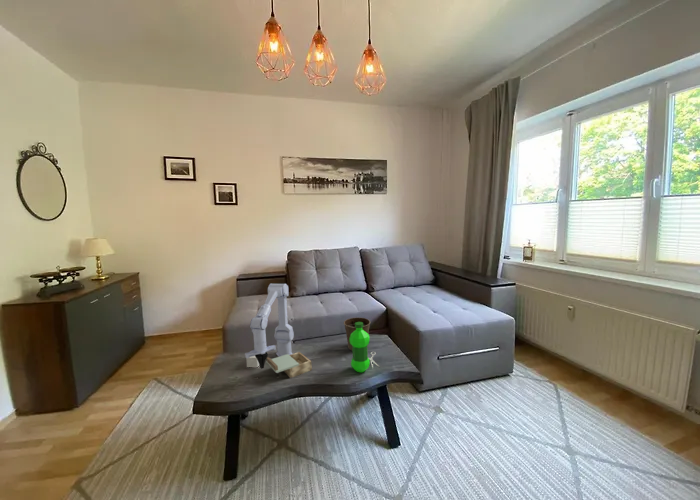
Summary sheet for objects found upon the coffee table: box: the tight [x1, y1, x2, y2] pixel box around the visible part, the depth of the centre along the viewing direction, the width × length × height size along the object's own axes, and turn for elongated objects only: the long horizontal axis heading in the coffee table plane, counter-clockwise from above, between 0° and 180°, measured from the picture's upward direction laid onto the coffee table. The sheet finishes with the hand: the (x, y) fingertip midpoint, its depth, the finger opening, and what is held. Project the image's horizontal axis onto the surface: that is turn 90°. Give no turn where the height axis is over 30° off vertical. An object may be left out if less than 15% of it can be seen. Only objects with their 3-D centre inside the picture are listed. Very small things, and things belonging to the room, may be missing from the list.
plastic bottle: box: [349, 322, 371, 373], centre depth 149 cm, size 10×10×25 cm
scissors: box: [368, 351, 379, 369], centre depth 160 cm, size 11×1×20 cm
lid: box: [265, 354, 299, 374], centre depth 149 cm, size 12×14×3 cm
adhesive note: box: [245, 356, 260, 368], centre depth 158 cm, size 6×6×6 cm
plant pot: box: [343, 316, 371, 351], centre depth 175 cm, size 16×16×16 cm
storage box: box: [283, 351, 313, 379], centre depth 153 cm, size 12×14×5 cm
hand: (261, 367), depth 143 cm, fingers closed
